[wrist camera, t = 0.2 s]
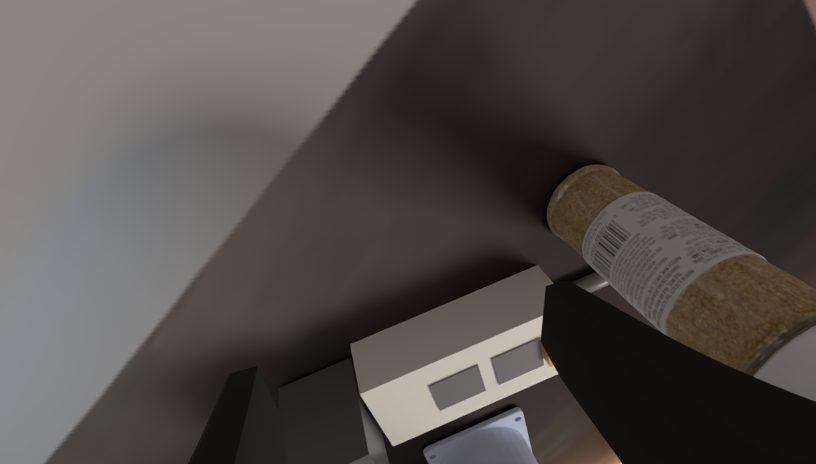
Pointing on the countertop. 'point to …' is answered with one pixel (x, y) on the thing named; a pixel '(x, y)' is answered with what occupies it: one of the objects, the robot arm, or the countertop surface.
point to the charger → (329, 420)
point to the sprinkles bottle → (690, 278)
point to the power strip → (457, 355)
